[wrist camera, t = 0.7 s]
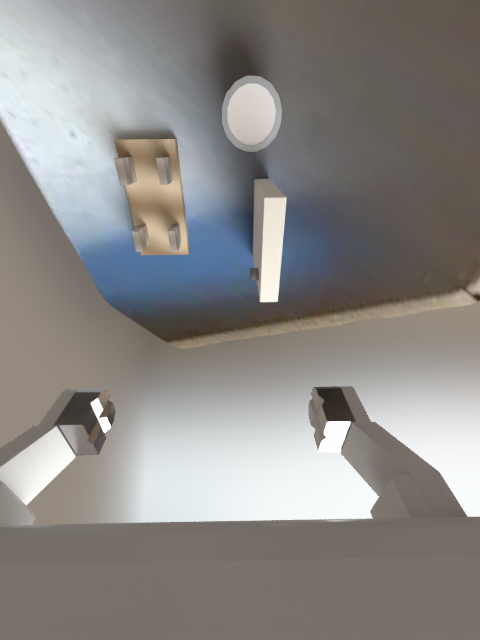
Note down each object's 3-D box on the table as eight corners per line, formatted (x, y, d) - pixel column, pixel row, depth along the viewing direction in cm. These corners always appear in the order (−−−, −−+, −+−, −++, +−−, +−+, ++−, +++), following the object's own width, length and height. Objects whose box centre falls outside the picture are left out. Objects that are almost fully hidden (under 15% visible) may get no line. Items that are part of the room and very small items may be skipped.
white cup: (283, 130, 36) (292, 127, 30) (240, 161, 38) (241, 164, 32) (258, 72, 33) (263, 57, 27) (213, 110, 35) (209, 103, 29)
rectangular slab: (247, 179, 39) (254, 197, 26) (268, 178, 39) (286, 197, 26) (247, 256, 46) (252, 302, 33) (265, 255, 46) (277, 301, 33)
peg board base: (118, 139, 36) (102, 139, 32) (176, 139, 36) (168, 138, 32) (143, 252, 45) (133, 264, 41) (189, 251, 45) (185, 263, 41)
